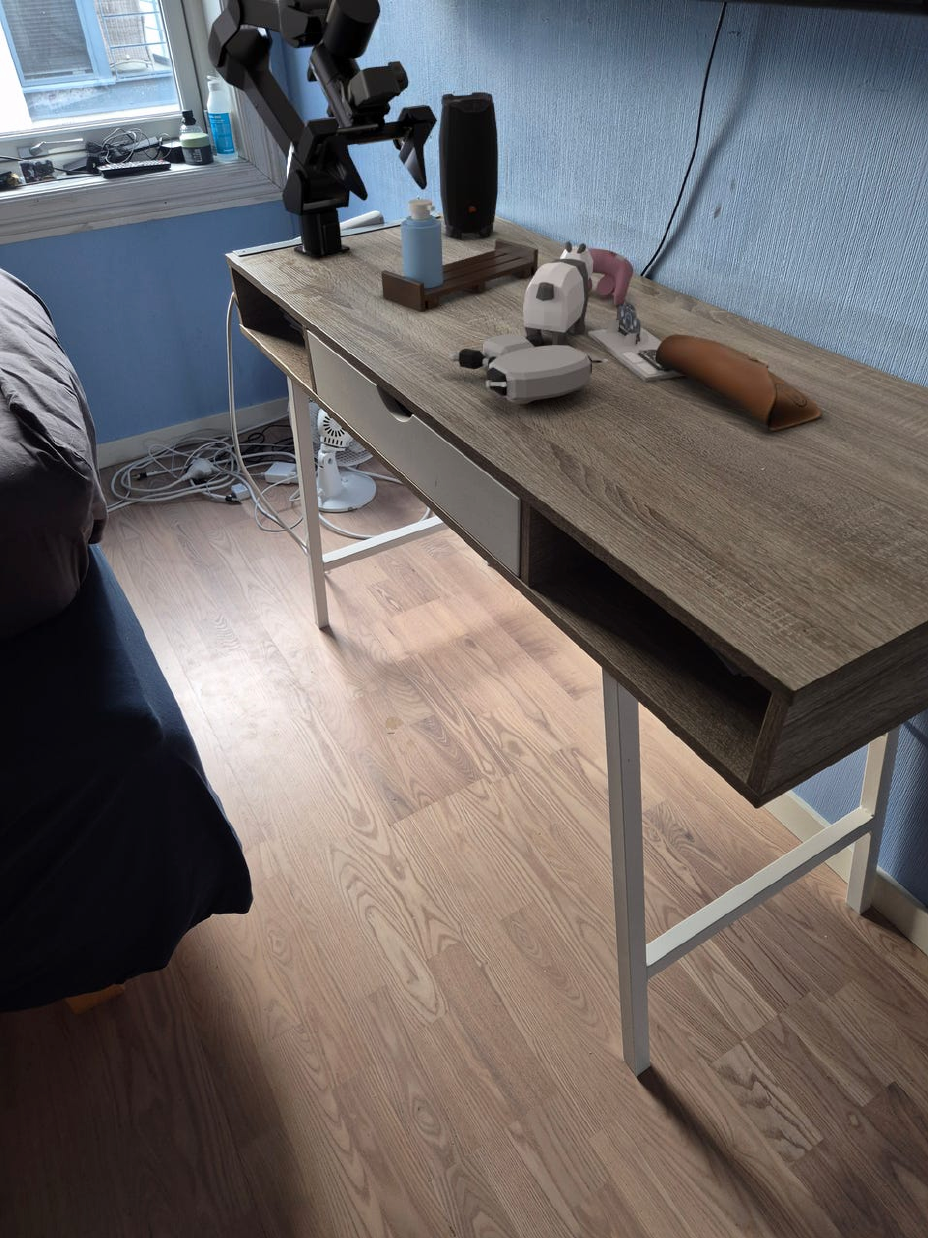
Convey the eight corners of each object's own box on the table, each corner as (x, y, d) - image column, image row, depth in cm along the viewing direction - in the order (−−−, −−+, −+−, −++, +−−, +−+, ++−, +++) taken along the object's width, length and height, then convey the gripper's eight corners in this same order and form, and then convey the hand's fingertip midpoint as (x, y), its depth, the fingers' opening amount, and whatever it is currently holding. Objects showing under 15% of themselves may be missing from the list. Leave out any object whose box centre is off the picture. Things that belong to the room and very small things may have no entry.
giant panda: (562, 355, 101) (567, 270, 95) (518, 348, 102) (520, 264, 97) (601, 315, 111) (607, 235, 105) (560, 309, 113) (564, 231, 107)
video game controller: (628, 310, 116) (639, 255, 115) (621, 304, 112) (632, 247, 111) (558, 301, 120) (569, 248, 118) (549, 295, 116) (559, 240, 114)
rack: (382, 297, 118) (380, 271, 116) (498, 262, 129) (498, 237, 127) (421, 311, 113) (419, 284, 111) (537, 274, 125) (538, 248, 122)
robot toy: (443, 380, 98) (508, 423, 86) (440, 340, 95) (507, 378, 84) (537, 360, 102) (611, 398, 91) (537, 320, 99) (613, 354, 88)
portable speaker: (489, 242, 138) (489, 99, 126) (434, 238, 140) (428, 98, 128) (503, 227, 144) (504, 91, 132) (450, 224, 147) (446, 90, 134)
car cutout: (588, 334, 106) (591, 297, 103) (637, 327, 107) (641, 290, 105) (645, 381, 95) (649, 341, 92) (699, 373, 96) (705, 333, 93)
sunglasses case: (831, 411, 87) (820, 363, 82) (776, 457, 87) (763, 412, 82) (712, 348, 99) (697, 303, 94) (665, 389, 99) (647, 345, 94)
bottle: (396, 282, 116) (391, 201, 110) (425, 273, 119) (422, 194, 113) (421, 291, 113) (417, 208, 107) (451, 282, 116) (449, 201, 110)
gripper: (295, 42, 102) (352, 160, 102) (425, 31, 111) (478, 140, 111) (275, 111, 112) (327, 219, 112) (396, 96, 121) (444, 196, 121)
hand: (395, 192), depth 114 cm, fingers open, 9 cm apart
